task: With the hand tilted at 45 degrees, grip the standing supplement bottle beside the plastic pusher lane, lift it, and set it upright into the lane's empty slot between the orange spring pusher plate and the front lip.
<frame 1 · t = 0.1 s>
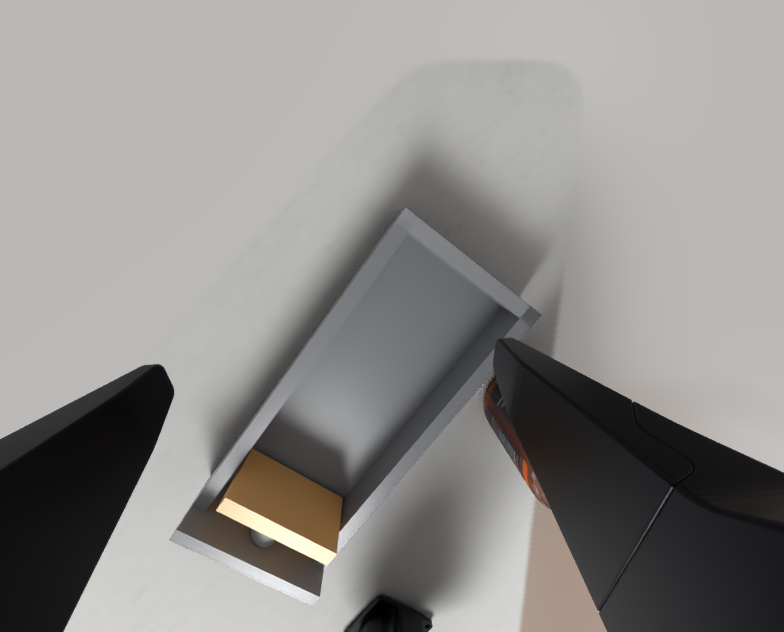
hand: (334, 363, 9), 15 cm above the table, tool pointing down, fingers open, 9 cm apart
supplement bottle: (516, 397, 28), on the table
pusher: (277, 516, 25), point 4 cm above the table, slide at 0.0 cm
lane: (356, 393, 26), on the table
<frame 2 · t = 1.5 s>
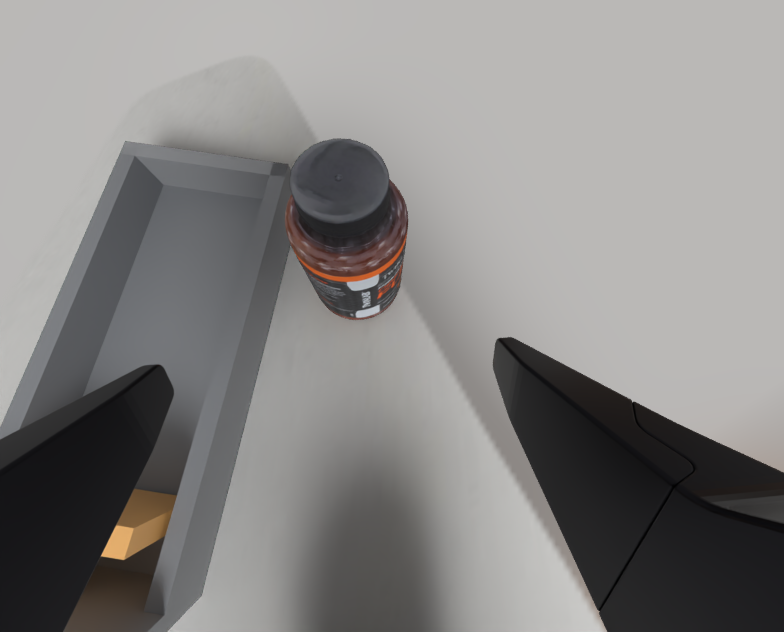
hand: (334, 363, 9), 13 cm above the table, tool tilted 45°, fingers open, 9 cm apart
supplement bottle: (359, 283, 24), on the table
pusher: (72, 541, 16), point 4 cm above the table, slide at 0.0 cm
lane: (178, 354, 22), on the table
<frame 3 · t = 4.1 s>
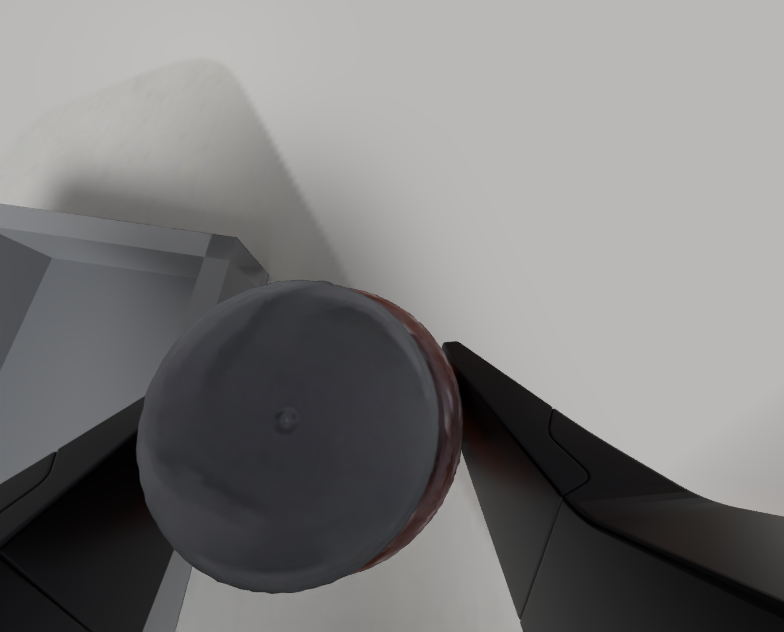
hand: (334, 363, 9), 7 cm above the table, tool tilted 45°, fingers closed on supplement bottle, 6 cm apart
supplement bottle: (356, 414, 15), on the table, touching gripper
lane: (55, 553, 13), on the table
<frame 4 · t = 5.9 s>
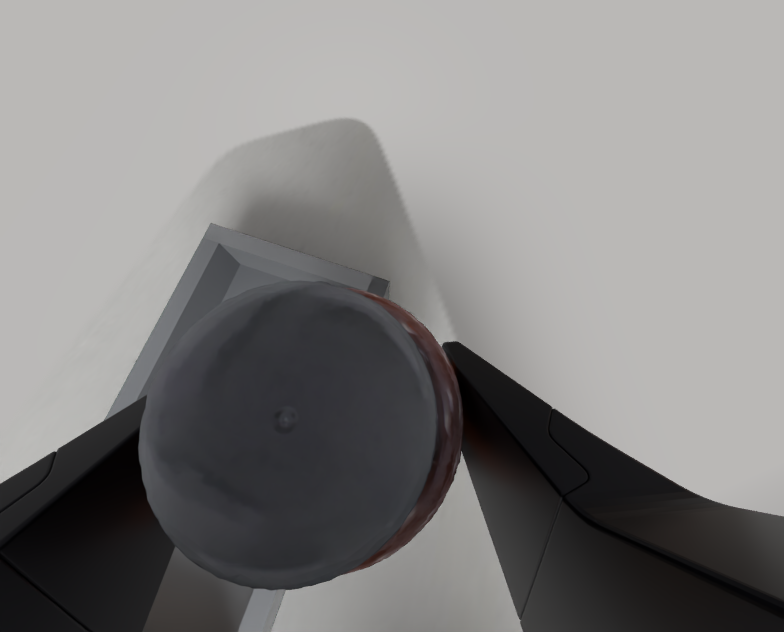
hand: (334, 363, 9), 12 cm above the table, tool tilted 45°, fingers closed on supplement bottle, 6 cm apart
supplement bottle: (359, 413, 15), point 5 cm above the table, touching gripper
lane: (227, 472, 20), on the table
when the fingers open (8 cm above the table, at t = 7.8 s): supplement bottle stays where it is, resting on lane.
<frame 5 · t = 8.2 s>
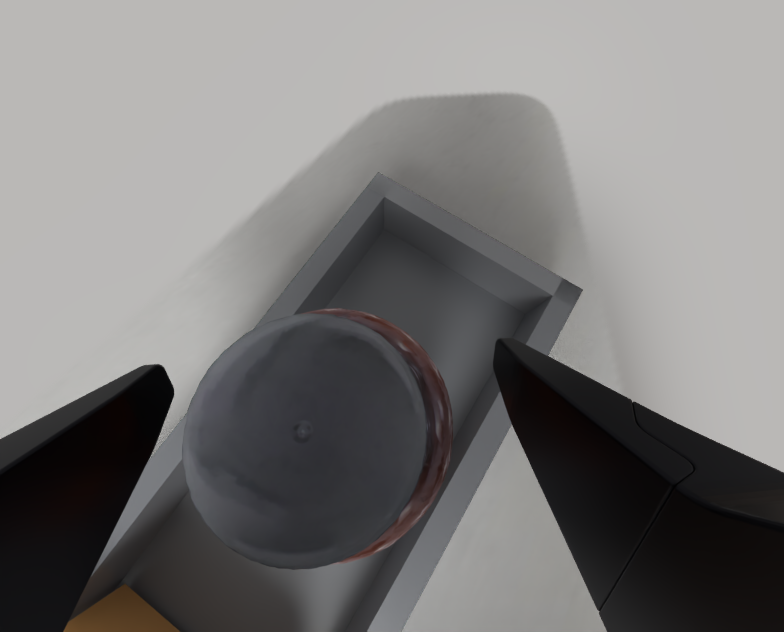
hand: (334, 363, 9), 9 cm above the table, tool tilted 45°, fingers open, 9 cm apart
supplement bottle: (359, 417, 16), point 1 cm above the table, touching lane
lane: (324, 466, 16), on the table
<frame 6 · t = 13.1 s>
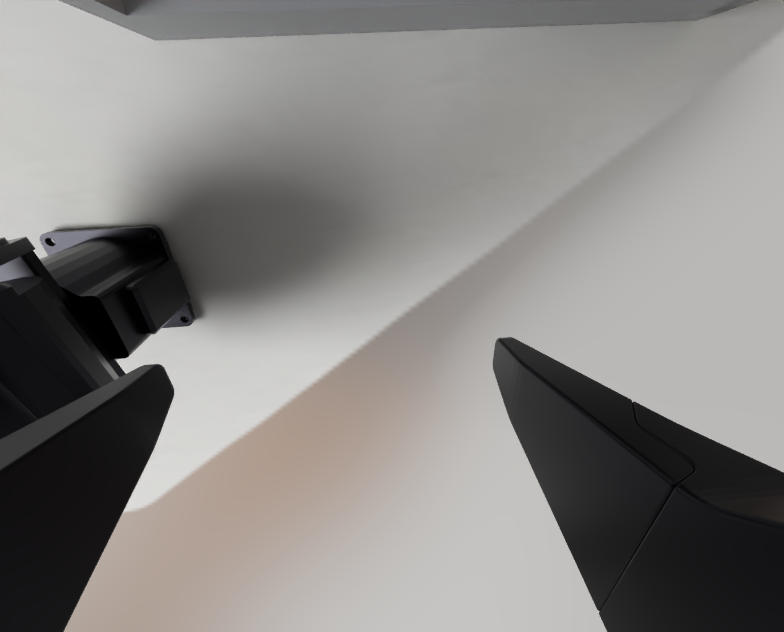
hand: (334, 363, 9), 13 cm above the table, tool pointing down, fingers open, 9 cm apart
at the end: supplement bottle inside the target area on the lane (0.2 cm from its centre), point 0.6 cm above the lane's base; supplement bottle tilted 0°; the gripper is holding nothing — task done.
